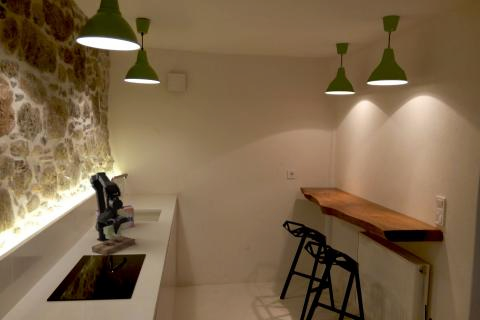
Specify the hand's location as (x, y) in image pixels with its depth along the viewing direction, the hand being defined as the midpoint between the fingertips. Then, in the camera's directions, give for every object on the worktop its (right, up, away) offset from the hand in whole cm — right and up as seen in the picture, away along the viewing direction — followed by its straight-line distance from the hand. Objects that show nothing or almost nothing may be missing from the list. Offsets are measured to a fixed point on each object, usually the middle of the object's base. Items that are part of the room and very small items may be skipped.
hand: (113, 233), depth 194 cm
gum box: (-11, -5, +36) cm, 38 cm away
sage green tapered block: (0, -2, 0) cm, 2 cm away
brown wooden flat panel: (0, -8, +1) cm, 8 cm away
